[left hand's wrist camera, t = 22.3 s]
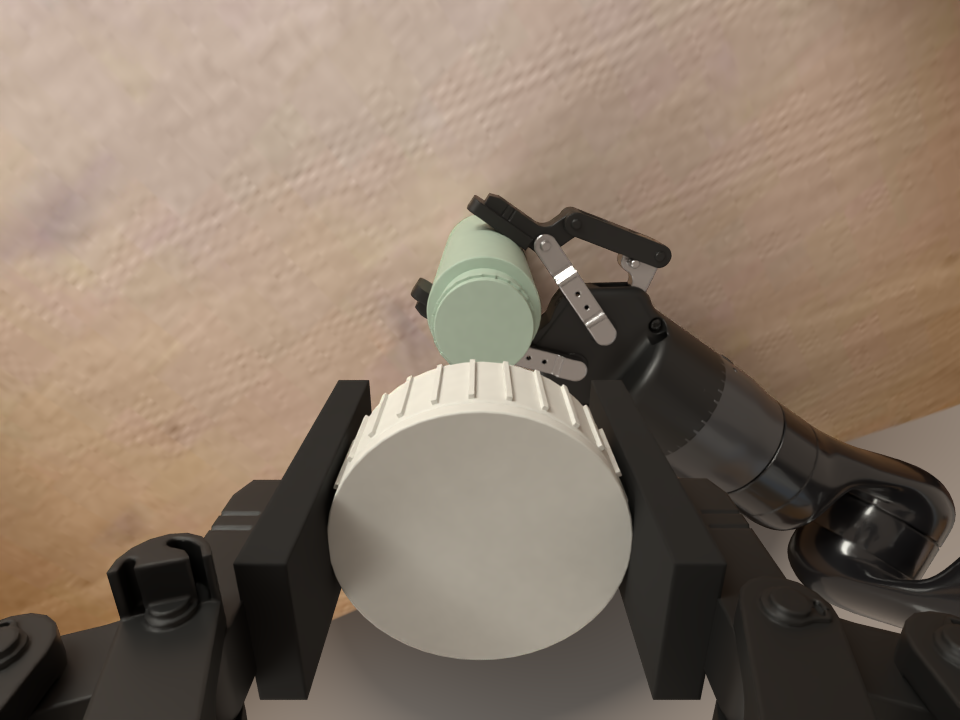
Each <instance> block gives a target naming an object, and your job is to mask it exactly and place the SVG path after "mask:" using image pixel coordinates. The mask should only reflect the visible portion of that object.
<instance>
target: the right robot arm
mask: <svg viewBox="0 0 960 720" xmlns="http://www.w3.org/2000/svg"><path fill="white" fill-rule="evenodd" d="M467 209H468V210H469V211H470V212H471V213H473V214H474V215H476V216H477V217H478V218H480V219H481V220H483V221H484V222H486V223H487V224H488V225H490V226H491V227H493V228H494V229H496V230H497V231H498V232H500V233H501V234H503V235H504V236H506V237H507V238H509V239H511V240H512V241H513V242H514V243H516V244H517V245H519V246H520V247H521V248H523V249H524V250H526V249H527V248H528V247H529V248H530V249H532V250H533V251H535V252H536V254H537V255H538V257H539V258H540V260H541V261H542V262H543V264H544V265H545V267H546V268H547V270H548V271H549V273H550V274H551V276H552V277H553V279H554V280H555V282H556V283H557V285H558V286H559V289H558V290H557V292H556V293H555V294H554V296H553V297H552V298H551V301H550V303H549V306H548V308H547V310H546V312H545V313H544V314H542V315H541V320H540V325H539V328H538V331H537V333H536V335H535V337H534V339H533V340H532V342H531V345H530V347H529V349H528V351H527V352H526V354H525V355H524V356H523V357H522V359H521V360H520V361H519V362H517V363H516V364H515V365H516V366H520V367H524V368H528V369H532V370H534V371H535V370H538V371H540V374H541V375H542V376H544V377H546V378H548V379H550V380H552V381H553V382H555V383H556V384H558V385H559V386H562V385H563V384H564V385H565V386H567V388H568V391H569V393H570V394H571V395H572V396H573V397H575V398H576V399H577V400H578V401H579V402H580V403H581V405H582V406H584V405H587V406H588V407H589V403H590V390H591V380H622V382H623V384H624V385H625V387H626V389H627V391H628V392H629V394H630V396H631V397H632V399H633V401H634V403H635V404H636V406H637V408H638V410H639V411H640V413H641V415H642V417H643V418H644V420H645V422H646V423H647V425H648V427H649V429H650V430H651V432H652V434H653V436H654V437H655V439H656V441H657V443H658V444H659V446H660V448H661V449H662V451H663V453H664V455H665V456H666V458H667V460H668V462H669V463H670V465H671V467H672V469H673V470H674V472H675V474H676V476H677V477H678V478H707V479H709V480H710V481H711V482H713V483H714V484H715V485H717V486H718V487H720V488H721V489H722V490H724V491H725V492H726V493H728V495H729V496H730V498H731V499H732V501H733V502H734V504H735V505H736V506H737V508H738V509H739V513H741V514H742V515H744V516H745V517H747V518H749V519H750V520H752V521H753V522H755V523H757V524H759V525H761V526H764V527H766V528H769V529H773V530H781V531H784V530H792V529H796V530H795V532H794V533H793V535H792V537H791V539H790V542H789V544H788V559H789V562H790V565H791V567H792V569H793V571H794V572H795V574H796V576H797V577H798V579H799V580H800V581H801V582H802V584H803V585H804V586H806V587H808V588H809V589H811V590H813V591H815V592H817V593H818V594H819V595H820V596H821V597H822V598H824V599H825V600H826V601H827V602H828V603H830V604H832V605H835V606H837V607H839V608H842V609H844V610H847V611H850V612H852V613H855V614H858V615H861V616H864V617H867V618H870V619H873V620H877V621H880V622H883V623H886V624H890V625H893V626H896V627H899V628H902V629H903V626H904V623H905V621H906V620H907V619H908V618H909V617H910V616H911V615H913V614H914V613H918V612H926V611H934V612H940V613H947V614H952V615H954V616H957V617H960V557H959V558H958V559H957V560H956V561H955V562H953V563H952V564H951V565H950V566H949V567H947V568H946V569H945V570H943V571H942V572H940V573H939V574H937V575H935V576H933V577H931V578H928V579H922V580H921V578H922V577H923V575H924V573H925V572H926V570H927V569H928V567H929V565H930V564H931V562H932V560H933V559H934V557H935V556H936V554H937V552H938V551H939V548H938V547H941V546H942V544H943V543H944V541H945V540H946V538H947V536H948V535H949V533H950V531H951V529H952V527H953V525H954V522H955V515H956V514H955V507H954V503H953V500H952V498H951V496H950V494H949V492H948V491H947V489H946V488H945V486H944V485H943V484H942V483H941V482H940V481H939V480H938V479H936V478H935V477H934V476H933V475H931V474H930V473H928V472H927V471H925V470H923V469H921V468H919V467H917V466H914V465H912V464H909V463H907V462H904V461H901V460H898V459H895V458H892V457H888V456H885V455H882V454H878V453H875V452H871V451H868V450H864V449H860V448H857V447H854V446H851V445H849V444H846V443H844V442H841V441H839V440H837V439H835V438H833V437H831V436H829V435H827V434H825V433H823V432H821V431H820V430H818V429H816V428H815V427H813V426H812V425H810V424H809V423H807V422H806V421H804V420H803V419H802V418H800V417H799V416H797V415H796V414H795V413H793V412H792V411H790V410H789V409H788V408H786V407H785V406H783V405H782V404H780V403H779V402H778V401H776V400H775V399H773V398H772V397H771V396H770V395H768V394H767V393H766V392H765V391H764V390H763V389H762V388H761V387H760V386H759V385H758V384H757V383H756V382H755V381H754V380H753V379H752V378H751V377H749V376H748V375H747V374H746V373H744V372H743V371H741V370H740V369H739V368H737V367H736V366H734V364H733V363H732V362H731V361H730V360H729V359H728V358H726V357H724V356H722V355H720V354H717V353H716V352H715V351H713V350H712V349H711V348H709V347H708V346H706V345H705V344H703V343H702V342H701V341H699V340H698V339H696V338H695V337H694V336H692V335H691V334H689V333H688V332H687V331H685V330H684V329H682V328H681V327H680V326H678V325H677V324H675V323H674V322H673V321H671V320H670V319H668V318H667V317H666V316H664V315H663V314H661V313H660V312H659V311H657V310H656V309H655V308H654V307H653V305H652V303H651V300H650V298H649V296H648V294H647V293H646V291H647V289H648V287H649V285H650V283H651V281H652V279H653V277H654V275H655V273H656V270H657V268H662V267H664V266H666V265H667V264H668V263H669V262H670V259H671V251H670V249H669V248H668V247H666V246H665V245H663V244H661V243H660V242H658V241H656V240H655V239H653V238H651V237H648V236H646V235H643V234H640V233H638V232H635V231H633V230H630V229H628V228H625V227H623V226H620V225H617V224H615V223H612V222H610V221H607V220H605V219H602V218H600V217H597V216H594V215H592V214H589V213H587V212H584V211H582V210H579V209H577V208H574V207H567V208H565V209H563V210H562V211H561V213H560V214H559V215H558V216H556V217H555V218H553V219H552V220H550V221H549V222H546V223H539V222H536V221H534V220H533V219H531V218H530V217H529V216H527V215H526V214H524V213H523V212H522V211H520V210H519V209H517V208H516V207H514V206H513V205H512V204H510V203H509V202H507V201H506V200H505V199H503V198H502V197H501V196H499V195H495V194H491V193H489V194H488V196H487V197H486V199H485V200H483V199H481V198H480V197H478V196H477V195H474V197H473V198H472V200H471V201H470V203H469V204H468V206H467ZM574 237H577V238H580V239H582V240H585V241H588V242H590V243H593V244H595V245H598V246H601V247H603V248H606V249H608V250H611V251H614V252H616V253H619V254H618V257H617V261H618V264H619V265H620V266H621V267H622V268H623V269H624V270H625V271H627V272H628V276H629V278H628V282H608V283H584V282H583V280H582V279H581V277H580V276H579V274H578V273H577V271H576V270H575V268H574V267H573V265H572V264H571V262H570V261H569V259H568V258H567V256H566V255H565V253H564V252H563V250H562V249H561V246H562V245H564V244H565V243H567V242H568V241H570V240H571V239H572V238H574ZM432 285H433V284H432V283H430V282H429V281H427V280H425V279H423V278H420V279H419V280H418V282H417V283H416V285H415V286H414V288H413V290H412V292H411V296H412V297H413V298H414V299H416V300H417V304H416V306H415V308H416V309H417V310H418V312H419V313H420V314H421V315H422V316H423V317H425V318H426V319H427V302H428V298H429V294H430V291H431V288H432ZM527 356H529V357H527Z"/></svg>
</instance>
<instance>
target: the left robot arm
mask: <svg viewBox="0 0 960 720" xmlns="http://www.w3.org/2000/svg"><path fill="white" fill-rule="evenodd" d="M589 409H590V412H591V414H592V417H593V419H594V422H595V424H596V425H597V428H598V430H599V429H601V428H602V429H603V431H604V433H605V436H606V438H607V440H608V443H609V445H610V448H611V450H612V452H613V455H614V457H615V460H616V462H617V464H618V467H619V469H620V472H621V474H622V476H620V477H619V478H620V481H621V483H622V486H623V488H624V490H625V493H626V495H627V498H628V505H629V509H630V513H631V516H632V526H633V537H632V546H631V554H630V561H629V565H628V568H627V570H626V573H625V576H624V578H623V581H622V583H621V584H620V586H619V590H620V593H621V596H622V599H623V603H624V606H625V609H626V613H627V616H628V619H629V622H630V626H631V629H632V632H633V636H634V639H635V642H636V645H637V648H638V652H639V655H640V658H641V662H642V665H643V668H644V671H645V675H646V678H647V681H648V685H649V688H650V691H651V694H652V698H653V700H700V699H701V694H702V689H703V684H704V679H705V674H706V675H707V678H708V680H709V683H710V685H711V687H712V690H713V692H714V695H715V697H716V699H717V700H716V705H715V709H714V714H713V719H712V720H960V617H957V616H954V615H952V614H947V613H940V612H934V611H926V612H918V613H914V614H913V615H911V616H910V617H909V618H908V619H907V620H906V621H905V623H904V626H903V629H902V632H901V634H900V633H895V632H891V631H887V630H883V629H879V628H874V627H870V626H866V625H862V624H857V623H854V622H850V621H847V620H844V619H841V618H839V617H838V615H837V614H836V612H835V611H834V609H833V607H832V606H831V604H829V603H828V602H827V601H826V600H825V599H824V598H822V597H821V596H820V595H819V594H818V593H817V592H815V591H813V590H811V589H809V588H808V587H806V586H804V585H802V584H800V583H798V582H795V581H791V580H788V579H786V577H785V576H784V575H783V573H782V572H781V570H780V569H779V567H778V566H777V564H776V563H775V561H774V560H773V559H772V557H771V556H770V554H769V553H768V551H767V550H766V548H765V547H764V546H763V544H762V543H761V541H760V540H759V538H758V537H757V535H756V534H755V533H754V531H753V530H752V529H750V528H749V524H748V522H747V521H746V520H745V518H744V517H743V515H742V514H740V513H739V509H738V508H737V506H736V505H735V504H734V502H733V501H732V499H731V498H730V496H729V495H728V493H726V492H725V491H724V490H722V489H721V488H720V487H718V486H717V485H715V484H714V483H713V482H711V481H710V480H709V479H707V478H678V477H677V476H676V474H675V472H674V470H673V469H672V467H671V465H670V463H669V462H668V460H667V458H666V456H665V455H664V453H663V451H662V449H661V448H660V446H659V444H658V443H657V441H656V439H655V437H654V436H653V434H652V432H651V430H650V429H649V427H648V425H647V423H646V422H645V420H644V418H643V417H642V415H641V413H640V411H639V410H638V408H637V406H636V404H635V403H634V401H633V399H632V397H631V396H630V394H629V392H628V391H627V389H626V387H625V385H624V384H623V382H622V380H591V390H590V403H589ZM371 413H372V411H371V398H370V386H369V380H339V381H338V382H337V384H336V386H335V388H334V389H333V391H332V393H331V395H330V396H329V398H328V400H327V402H326V403H325V405H324V407H323V408H322V410H321V412H320V414H319V415H318V417H317V419H316V421H315V422H314V424H313V426H312V428H311V429H310V431H309V433H308V435H307V436H306V438H305V440H304V441H303V443H302V445H301V447H300V448H299V450H298V452H297V454H296V455H295V457H294V459H293V461H292V462H291V464H290V466H289V467H288V469H287V471H286V473H285V474H284V476H283V478H282V480H253V481H252V482H250V483H249V484H248V485H246V486H245V487H243V488H242V489H241V490H239V491H238V492H237V493H235V494H234V495H233V496H232V498H231V499H230V501H229V502H228V503H227V505H226V506H225V508H224V509H223V511H222V514H221V516H219V517H218V518H217V520H216V521H215V522H214V524H213V525H212V529H211V530H209V531H208V533H207V534H206V536H205V537H204V538H203V537H202V536H198V535H194V534H190V533H179V534H168V535H164V536H160V537H157V538H153V539H150V540H148V541H146V542H143V543H141V544H139V545H137V546H135V547H133V548H131V549H130V550H129V551H127V552H126V553H125V554H123V555H122V556H121V557H119V558H118V559H117V560H116V561H115V562H114V563H113V565H112V566H111V568H110V569H109V570H108V572H107V576H108V580H109V583H110V586H111V589H112V593H113V596H114V599H115V603H116V606H117V609H118V613H119V616H120V621H118V622H114V623H111V624H108V625H104V626H100V627H96V628H92V629H87V630H83V631H79V632H75V633H71V634H66V635H62V636H60V633H59V630H58V628H57V625H56V623H55V622H54V621H53V620H52V619H51V618H50V617H48V616H47V615H41V614H34V613H29V614H23V615H17V616H10V617H8V618H5V619H2V620H0V720H247V715H246V709H245V705H244V701H245V698H246V696H247V693H248V691H249V689H250V686H251V684H252V682H253V679H254V677H256V682H257V687H258V692H259V697H260V700H307V699H308V695H309V692H310V689H311V686H312V682H313V679H314V676H315V673H316V669H317V666H318V663H319V660H320V656H321V653H322V650H323V646H324V643H325V640H326V637H327V633H328V630H329V627H330V624H331V620H332V617H333V614H334V610H335V607H336V604H337V601H338V597H339V594H340V591H341V586H340V584H339V582H338V580H337V578H336V576H335V573H334V570H333V567H332V564H331V559H330V552H329V543H328V534H327V525H328V519H329V512H330V508H331V505H332V502H333V499H334V496H335V493H336V491H337V489H334V488H333V487H334V484H335V482H336V479H337V477H338V475H339V472H340V470H341V467H342V465H343V463H344V460H345V458H346V455H347V453H348V451H349V448H350V446H351V443H352V441H353V440H355V438H356V435H357V433H358V431H359V428H360V426H361V423H362V421H363V418H364V417H365V415H367V416H370V415H371Z"/></svg>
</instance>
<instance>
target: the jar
mask: <svg viewBox="0 0 960 720" xmlns="http://www.w3.org/2000/svg"><path fill="white" fill-rule="evenodd" d="M427 320H428V325H429V328H430V331H431V333H432V335H433V338H434V343H435V345H436V346H437V348H438V350H439V352H440V354H441V355H442V356H443V357H444V358H445V360H446V361H447V362H448V363H449V364H450V365H453V364H459V363H465V362H470V359H475V362H492V363H503V361H507V362H509V365H512V366H513V365H515V364H516V363H517V362H519V361H520V360H521V359H522V357H523V356H524V355H525V354H526V352H527V351H528V349H529V347H530V345H531V342H532V340H533V339H534V337H535V335H536V333H537V331H538V328H539V325H540V320H541V302H540V298H539V294H538V291H537V289H536V286H535V283H534V280H533V277H532V274H531V272H530V269H529V266H528V263H527V260H526V258H525V255H524V252H523V249H522V248H521V247H520V246H519V245H517V244H516V243H514V242H513V241H512V240H511V239H509V238H507V237H506V236H504V235H503V234H501V233H500V232H498V231H497V230H496V229H494V228H493V227H491V226H490V225H488V224H487V223H486V222H484V221H483V220H481V219H480V218H478V217H477V216H476V215H472V216H470V217H467V218H465V219H464V220H462V221H461V222H459V223H458V224H457V225H456V226H455V228H454V229H453V230H452V232H451V234H450V236H449V238H448V241H447V244H446V247H445V250H444V253H443V255H442V258H441V261H440V264H439V267H438V270H437V273H436V276H435V279H434V282H433V285H432V288H431V291H430V294H429V298H428V302H427Z"/></svg>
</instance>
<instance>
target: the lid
mask: <svg viewBox="0 0 960 720" xmlns="http://www.w3.org/2000/svg"><path fill="white" fill-rule="evenodd" d="M620 476H622V474H621V472H620V469H619V467H618V464H617V462H616V460H615V457H614V455H613V452H612V450H611V448H610V445H609V443H608V440H607V438H606V436H605V433H604V431H603V429H602V428H601V429H599V430H598V428H597V425H596V424H595V422H594V419H593V417H592V414H591V412H590V409H589V407H588V406H587V405H584V406H582V405H581V403H580V402H579V401H578V400H577V399H576V398H575V397H573V396H572V395H571V394H570V393H569V391H568V388H567V386H565V385H564V384H563V385H562V386H559V385H558V384H556V383H555V382H553V381H552V380H550V379H548V378H546V377H544V376H542V375H541V374H540V371H538V370H535V371H534V372H533V371H530V370H527V369H524V368H521V367H517V366H512V365H509V362H507V361H503V363H492V362H475V359H470V362H465V363H459V364H453V365H447V366H443V365H442V364H440V365H437V368H436V369H433V370H430V371H427V372H425V373H423V374H421V375H418V376H416V377H414V378H413V376H412V375H411V376H409V377H408V378H407V381H406V382H405V383H404V384H402V385H400V386H399V387H398V388H396V389H395V390H394V391H393V392H391V393H390V394H389V395H388V394H387V393H385V394H384V395H383V396H382V398H381V401H380V403H379V405H378V406H377V407H376V408H375V409H374V411H373V412H372V413H371V415H370V416H367V415H365V417H364V418H363V421H362V423H361V426H360V428H359V431H358V433H357V435H356V438H355V440H353V441H352V443H351V446H350V448H349V451H348V453H347V455H346V458H345V460H344V463H343V465H342V467H341V470H340V472H339V475H338V477H337V479H336V482H335V484H334V487H333V488H334V489H337V491H336V493H335V496H334V499H333V502H332V505H331V508H330V512H329V519H328V525H327V534H328V543H329V552H330V559H331V564H332V567H333V570H334V573H335V576H336V578H337V580H338V582H339V584H340V586H341V588H342V590H343V591H344V593H345V594H346V596H347V597H348V598H349V600H350V601H351V603H352V604H353V605H354V606H355V607H356V608H357V610H358V611H359V612H360V613H361V614H362V615H363V616H364V617H365V618H366V619H368V620H369V621H370V622H371V623H372V624H374V625H375V626H376V627H377V628H379V629H380V630H382V631H383V632H385V633H386V634H388V635H389V636H391V637H393V638H395V639H397V640H399V641H401V642H403V643H404V644H406V645H409V646H412V647H414V648H417V649H419V650H422V651H425V652H429V653H432V654H436V655H440V656H445V657H452V658H458V659H471V660H489V659H501V658H509V657H515V656H519V655H524V654H528V653H532V652H535V651H538V650H541V649H544V648H547V647H549V646H551V645H553V644H555V643H558V642H560V641H562V640H564V639H566V638H567V637H569V636H571V635H572V634H574V633H576V632H577V631H579V630H580V629H581V628H583V627H584V626H585V625H587V624H588V623H589V622H590V621H592V620H593V619H594V618H595V617H596V616H597V615H598V614H599V613H600V612H601V611H602V610H603V609H604V608H605V606H606V605H607V604H608V603H609V601H610V600H611V599H612V597H613V596H614V595H615V593H616V591H617V589H618V588H619V586H620V584H621V583H622V581H623V578H624V576H625V573H626V570H627V568H628V565H629V561H630V554H631V546H632V537H633V526H632V516H631V513H630V509H629V505H628V498H627V495H626V493H625V490H624V488H623V486H622V483H621V481H620V478H619V477H620Z"/></svg>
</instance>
